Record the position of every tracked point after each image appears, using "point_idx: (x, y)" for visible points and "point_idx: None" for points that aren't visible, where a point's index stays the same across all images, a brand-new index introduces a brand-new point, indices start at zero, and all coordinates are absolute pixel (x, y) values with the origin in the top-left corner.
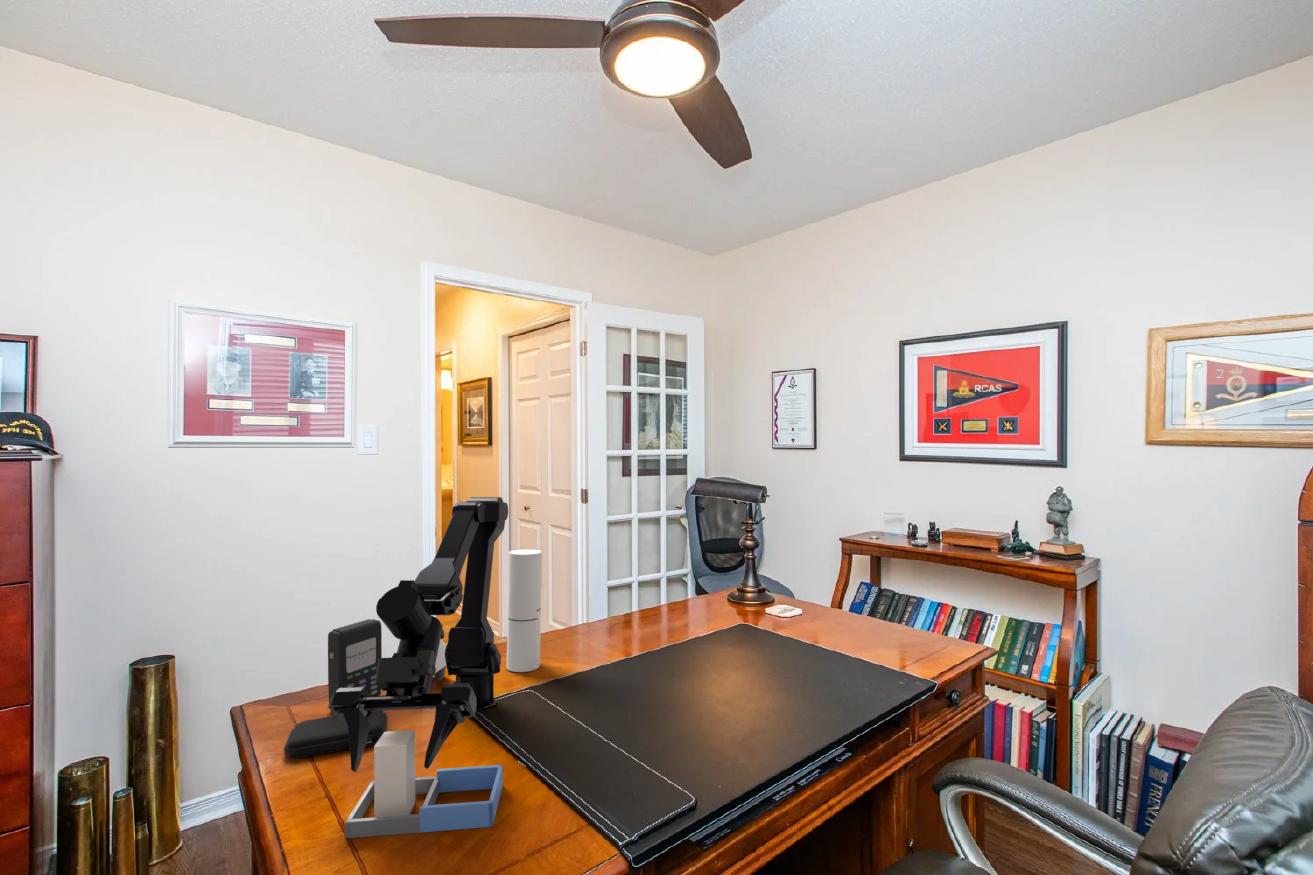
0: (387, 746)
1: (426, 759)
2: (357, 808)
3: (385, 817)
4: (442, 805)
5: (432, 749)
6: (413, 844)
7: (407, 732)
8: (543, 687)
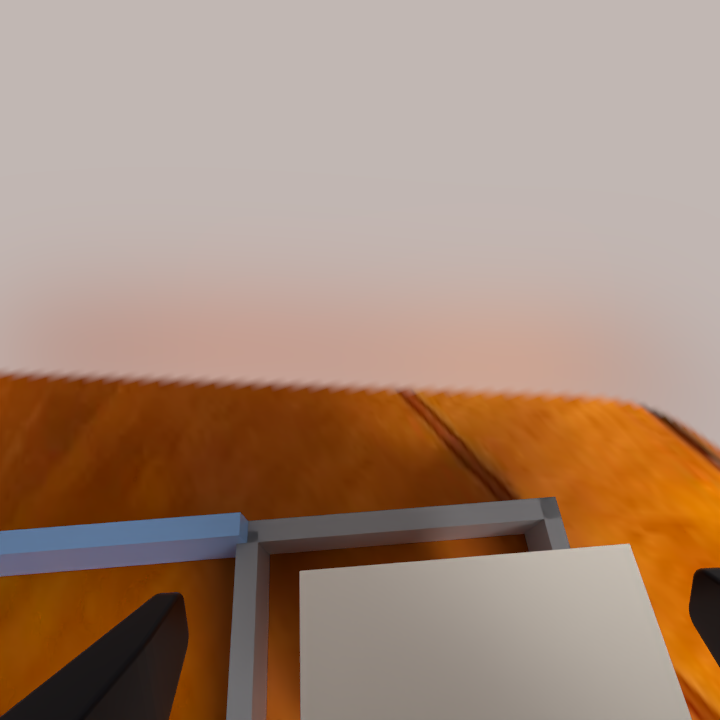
0: (492, 561)
1: (151, 612)
2: None
3: (398, 524)
4: (137, 532)
5: (69, 666)
6: (268, 470)
7: None
8: None
